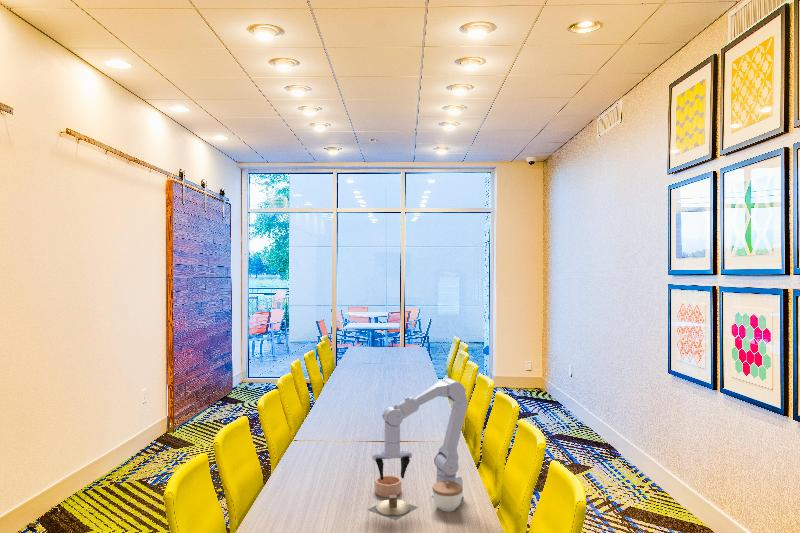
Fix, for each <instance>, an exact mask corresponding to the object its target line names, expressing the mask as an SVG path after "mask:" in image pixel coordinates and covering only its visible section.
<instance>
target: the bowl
mask: <svg viewBox="0 0 800 533" xmlns="http://www.w3.org/2000/svg"><path fill="white" fill-rule="evenodd" d="M402 480H403V479H402V478H401V477H399V476H396V475H387V474H386V475H383V480H381V478H380V476H378V477H376V478H375V480H374V493H375V494H376V496H377V495H378V496H380V497H382V498H383V497H387V498H389V495H396V496H397V497H398V496H399V495H401V493H402V490H403V489H402V488H403V487H402V486H403V482H402Z"/></svg>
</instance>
